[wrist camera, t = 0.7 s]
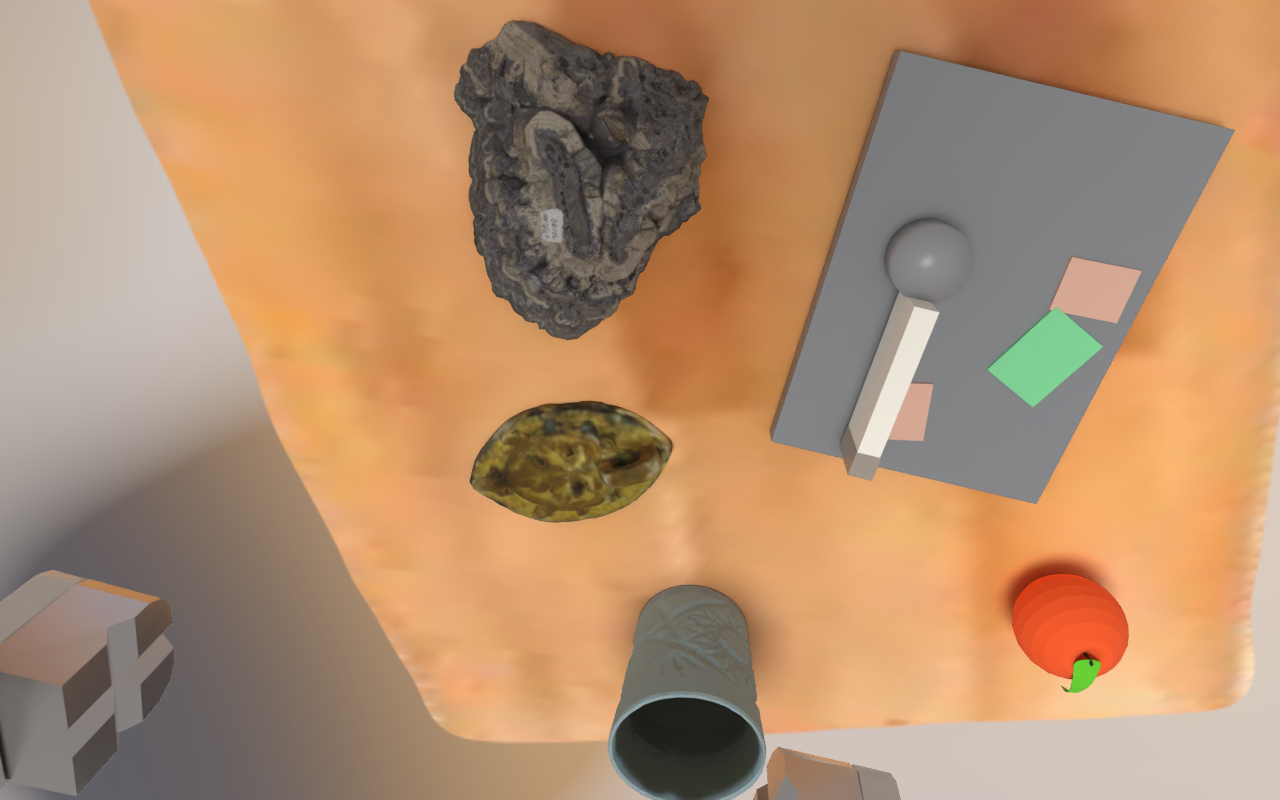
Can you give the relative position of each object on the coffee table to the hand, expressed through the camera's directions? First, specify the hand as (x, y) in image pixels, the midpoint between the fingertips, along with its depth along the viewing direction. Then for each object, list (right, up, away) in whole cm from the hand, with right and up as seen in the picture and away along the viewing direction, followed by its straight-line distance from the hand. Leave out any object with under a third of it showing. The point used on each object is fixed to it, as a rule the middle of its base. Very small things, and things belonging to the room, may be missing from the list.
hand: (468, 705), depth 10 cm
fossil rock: (-1, +17, +37) cm, 40 cm away
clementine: (+32, -10, +45) cm, 56 cm away
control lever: (+18, +8, +36) cm, 41 cm away
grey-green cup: (+6, -13, +50) cm, 52 cm away
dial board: (+22, +10, +36) cm, 44 cm away
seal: (-3, 0, +45) cm, 45 cm away
